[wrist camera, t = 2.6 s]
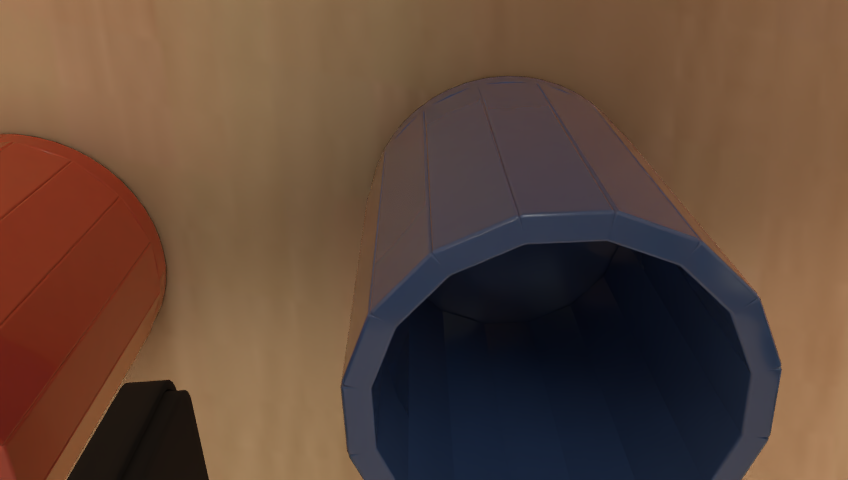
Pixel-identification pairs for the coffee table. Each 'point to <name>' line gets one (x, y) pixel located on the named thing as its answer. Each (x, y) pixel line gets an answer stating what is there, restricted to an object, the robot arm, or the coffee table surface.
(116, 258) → the red cup
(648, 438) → the blue cup
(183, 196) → the coffee table surface
